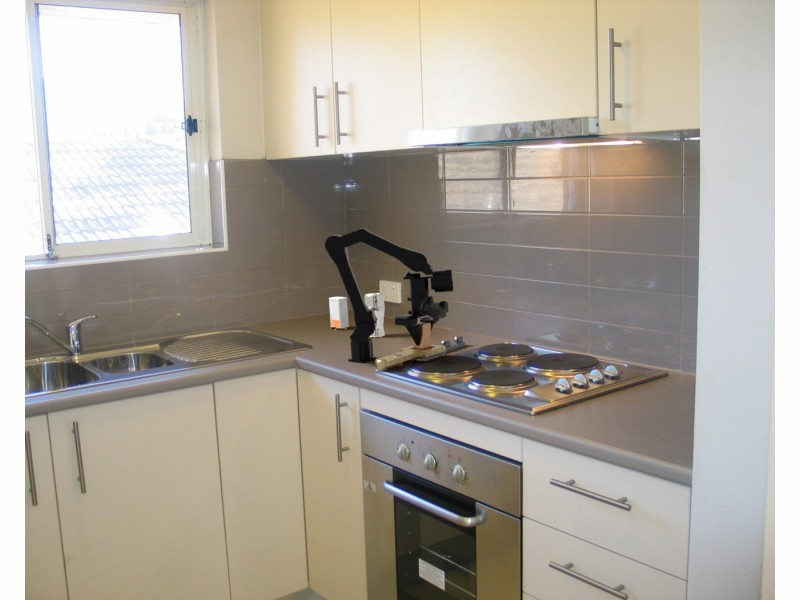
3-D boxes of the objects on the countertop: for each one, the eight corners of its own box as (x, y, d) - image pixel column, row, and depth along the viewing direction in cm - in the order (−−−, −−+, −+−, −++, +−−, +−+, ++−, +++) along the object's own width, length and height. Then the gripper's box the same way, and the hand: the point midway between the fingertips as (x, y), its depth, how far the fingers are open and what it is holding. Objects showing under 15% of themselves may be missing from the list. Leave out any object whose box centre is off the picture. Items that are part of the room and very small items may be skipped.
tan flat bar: (392, 373, 229) (392, 362, 229) (366, 369, 235) (365, 359, 235) (474, 346, 260) (473, 336, 260) (448, 343, 267) (448, 334, 266)
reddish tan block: (423, 354, 245) (422, 324, 244) (413, 353, 247) (411, 323, 246) (431, 351, 248) (430, 322, 247) (421, 350, 250) (420, 321, 249)
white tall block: (387, 334, 290) (384, 292, 288) (385, 337, 283) (382, 295, 281) (368, 334, 291) (365, 293, 289) (365, 338, 284) (362, 296, 282)
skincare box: (330, 329, 307) (328, 297, 306) (339, 327, 310) (337, 296, 308) (340, 330, 303) (338, 298, 301) (349, 328, 306) (347, 297, 304)
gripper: (421, 299, 233) (424, 352, 235) (459, 290, 247) (461, 340, 249) (391, 297, 240) (394, 349, 242) (430, 288, 254) (432, 338, 256)
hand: (422, 344), depth 247 cm, fingers closed on reddish tan block, 4 cm apart
